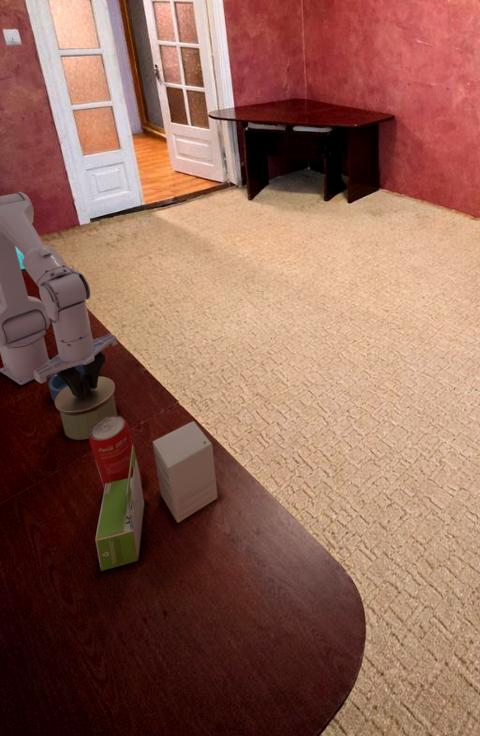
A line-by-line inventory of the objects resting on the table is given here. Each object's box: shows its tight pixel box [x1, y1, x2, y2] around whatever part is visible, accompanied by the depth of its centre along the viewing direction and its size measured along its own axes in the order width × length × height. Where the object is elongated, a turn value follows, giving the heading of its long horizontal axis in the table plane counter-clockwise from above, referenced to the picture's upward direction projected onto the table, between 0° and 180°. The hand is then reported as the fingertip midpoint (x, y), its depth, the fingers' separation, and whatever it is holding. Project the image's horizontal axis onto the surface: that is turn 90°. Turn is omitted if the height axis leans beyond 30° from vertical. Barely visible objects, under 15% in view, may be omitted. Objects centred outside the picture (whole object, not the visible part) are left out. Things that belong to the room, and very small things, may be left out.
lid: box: [54, 375, 116, 413], centre depth 96 cm, size 10×10×5 cm
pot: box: [59, 393, 118, 441], centre depth 98 cm, size 9×9×6 cm
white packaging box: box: [152, 420, 218, 524], centre depth 83 cm, size 7×7×13 cm
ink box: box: [95, 443, 145, 572], centre depth 75 cm, size 10×5×14 cm, turn 22°
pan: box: [48, 364, 85, 403], centre depth 107 cm, size 9×9×4 cm
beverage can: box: [88, 415, 143, 490], centre depth 83 cm, size 6×6×15 cm
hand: (84, 391), depth 97 cm, fingers closed on lid, 2 cm apart
